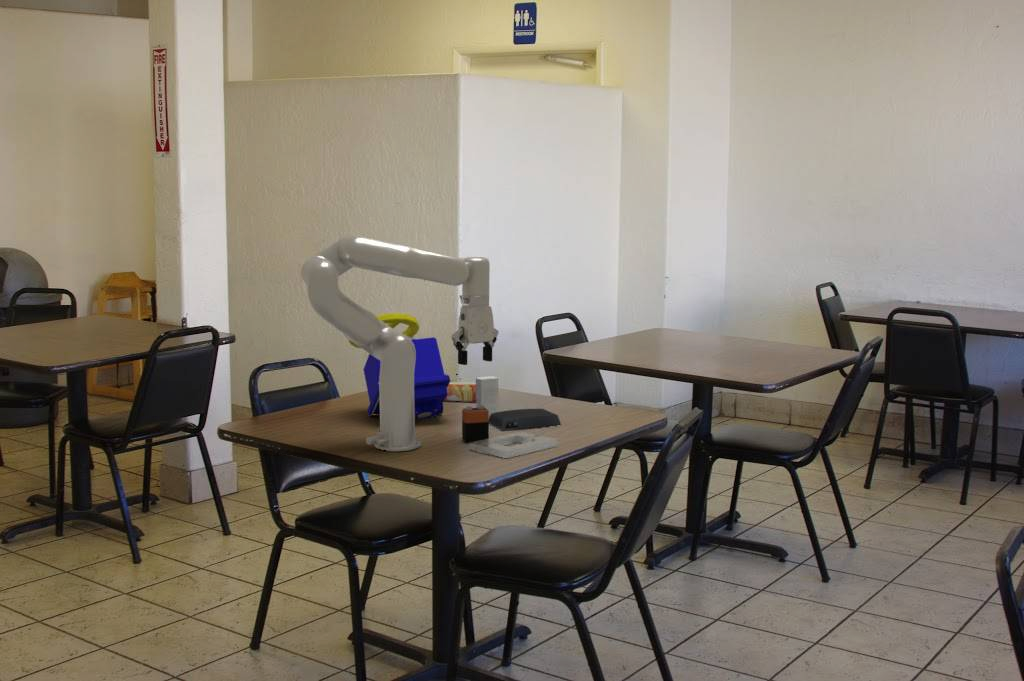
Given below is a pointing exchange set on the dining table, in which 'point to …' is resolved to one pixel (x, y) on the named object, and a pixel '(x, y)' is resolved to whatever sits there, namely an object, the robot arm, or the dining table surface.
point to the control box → (426, 375)
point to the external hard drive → (523, 419)
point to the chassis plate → (526, 439)
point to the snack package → (461, 392)
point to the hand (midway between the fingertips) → (475, 362)
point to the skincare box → (487, 393)
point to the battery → (475, 424)
